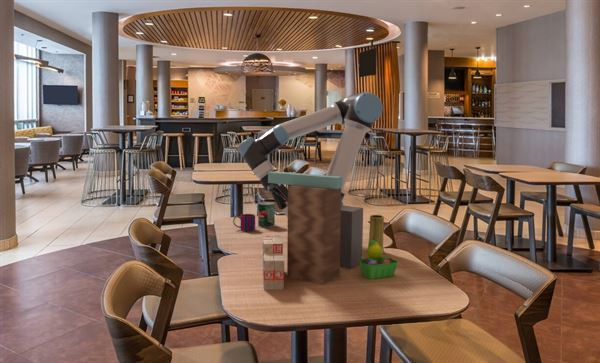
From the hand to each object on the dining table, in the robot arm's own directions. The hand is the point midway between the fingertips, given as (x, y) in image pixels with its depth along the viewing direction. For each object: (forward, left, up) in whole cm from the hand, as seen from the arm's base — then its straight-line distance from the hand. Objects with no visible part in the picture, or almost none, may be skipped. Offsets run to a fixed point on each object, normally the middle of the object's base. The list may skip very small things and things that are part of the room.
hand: (298, 219), depth 207 cm
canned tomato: (-1, -50, -13) cm, 51 cm away
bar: (+8, +30, +18) cm, 36 cm away
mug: (+11, -44, -13) cm, 47 cm away
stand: (+5, +33, -12) cm, 36 cm away
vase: (-29, +10, -13) cm, 33 cm away
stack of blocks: (+19, +32, -13) cm, 39 cm away
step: (-10, +20, -13) cm, 26 cm away
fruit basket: (-16, +37, -13) cm, 42 cm away
